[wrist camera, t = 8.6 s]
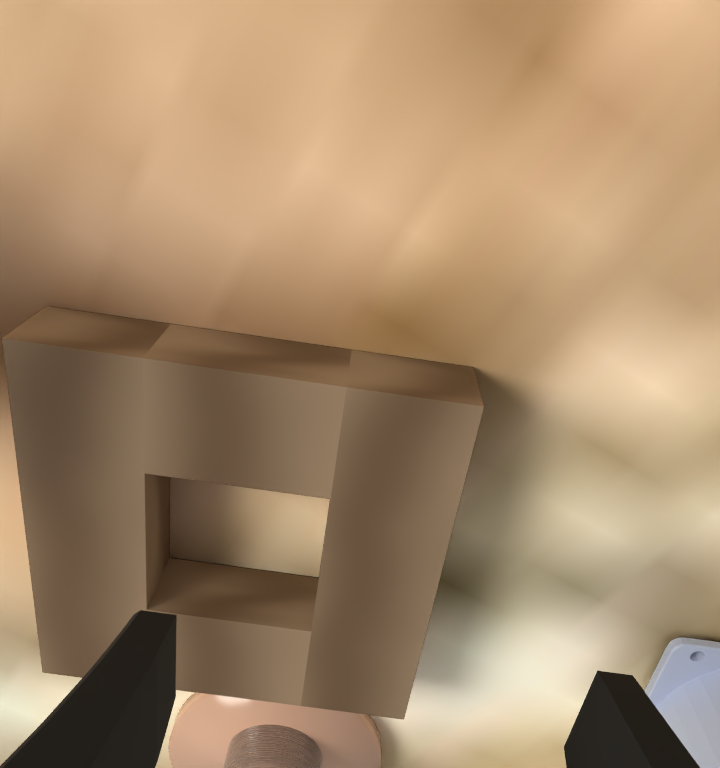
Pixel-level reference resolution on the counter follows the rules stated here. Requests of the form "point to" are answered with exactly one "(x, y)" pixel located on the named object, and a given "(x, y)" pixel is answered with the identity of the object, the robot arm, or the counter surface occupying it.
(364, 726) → the coaster
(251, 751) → the round metal peg
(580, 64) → the counter surface
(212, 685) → the pocket block
